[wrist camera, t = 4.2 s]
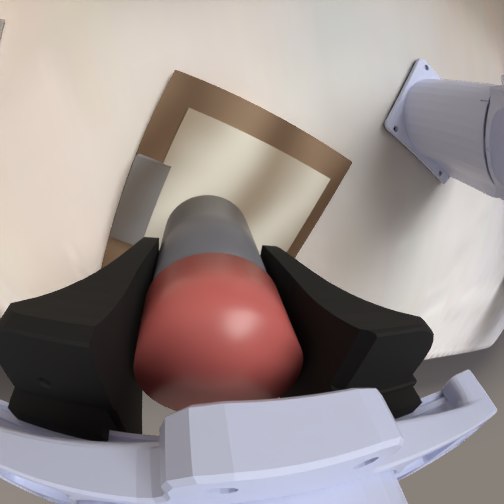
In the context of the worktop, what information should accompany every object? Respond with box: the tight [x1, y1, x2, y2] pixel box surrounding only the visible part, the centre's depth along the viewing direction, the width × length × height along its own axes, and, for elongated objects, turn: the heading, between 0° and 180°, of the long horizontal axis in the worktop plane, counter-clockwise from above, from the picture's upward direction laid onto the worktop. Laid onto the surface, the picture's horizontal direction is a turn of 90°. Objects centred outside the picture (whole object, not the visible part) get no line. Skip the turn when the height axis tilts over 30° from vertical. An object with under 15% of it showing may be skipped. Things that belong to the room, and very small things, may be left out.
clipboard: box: [101, 70, 352, 269], centre depth 20 cm, size 14×18×2 cm
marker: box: [133, 195, 303, 411], centre depth 10 cm, size 4×4×8 cm
